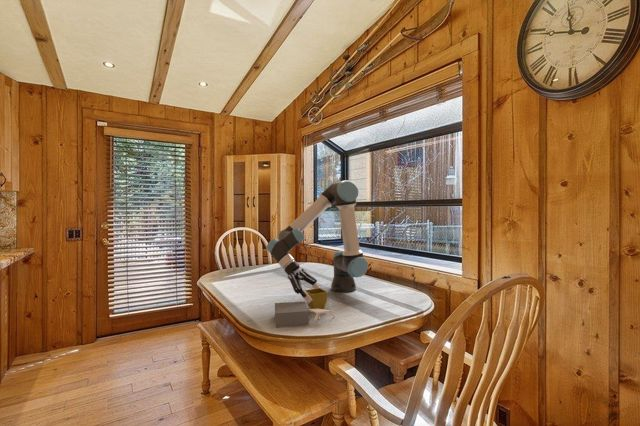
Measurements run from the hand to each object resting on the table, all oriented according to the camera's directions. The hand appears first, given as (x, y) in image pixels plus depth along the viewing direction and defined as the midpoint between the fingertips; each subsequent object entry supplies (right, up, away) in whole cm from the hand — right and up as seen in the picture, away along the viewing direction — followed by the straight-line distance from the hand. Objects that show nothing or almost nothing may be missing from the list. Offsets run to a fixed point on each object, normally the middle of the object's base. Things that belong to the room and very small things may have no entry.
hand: (316, 298), depth 152 cm
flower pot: (0, -6, +1) cm, 6 cm away
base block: (-11, -6, -14) cm, 19 cm away
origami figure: (+2, -6, -16) cm, 17 cm away
